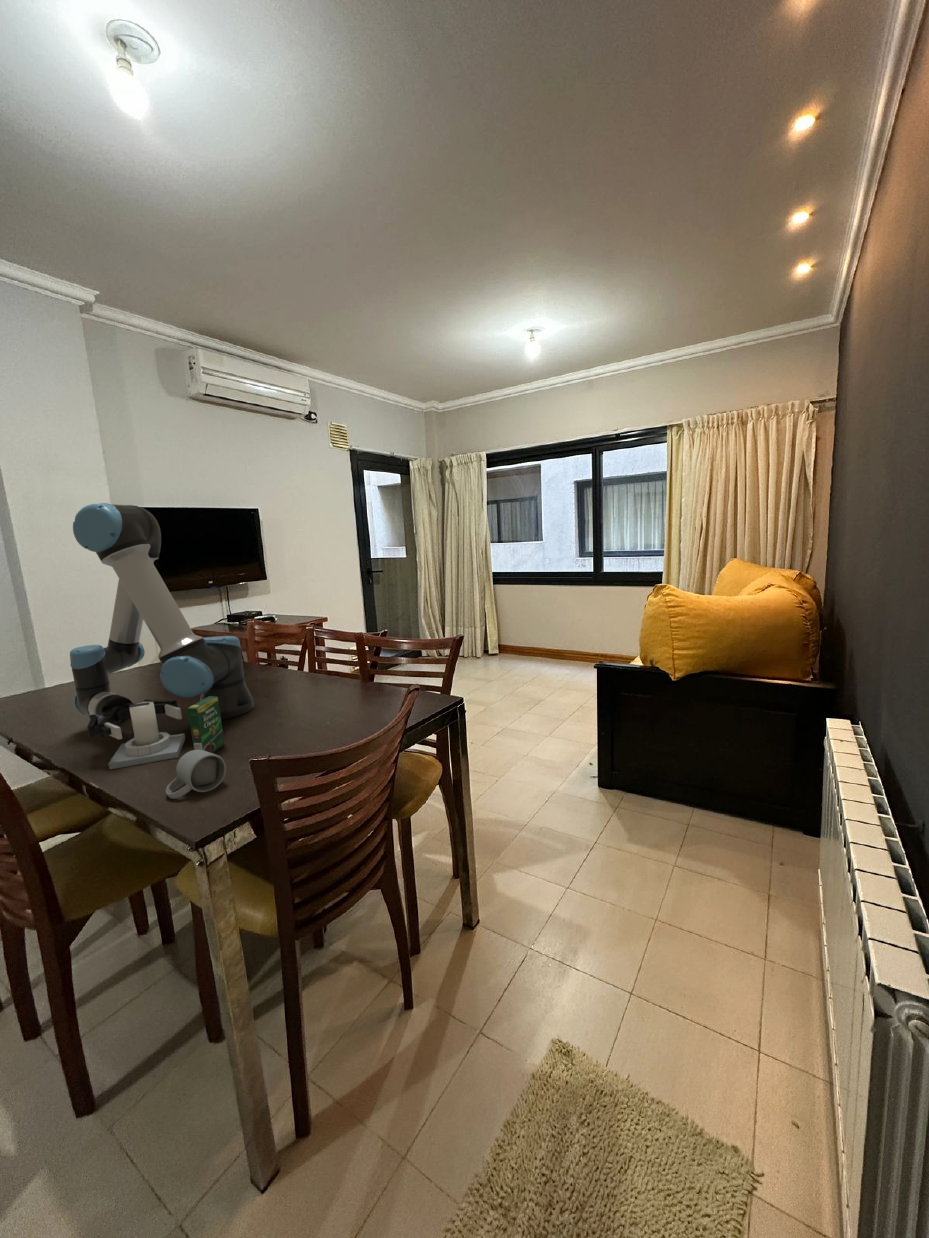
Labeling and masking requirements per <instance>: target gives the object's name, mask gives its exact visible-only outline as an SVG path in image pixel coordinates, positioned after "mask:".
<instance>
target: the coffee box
mask: <svg viewBox="0 0 929 1238" xmlns="http://www.w3.org/2000/svg"><path fill="white" fill-rule="evenodd" d="M187 714H188V720H189V726H190V732H191V738H192V740H191V741H192V745H193V750H204V751H207V752H210V753H213V754H214V753H215V752H216V751H217V750H219V749H220V748H222V747H223V746H224V745H225V739H224V731H223V725H222V719H221V716H220V710H219V703H218V697H215V696H208V697H207V698H205V699H203V700H202V701H200V700H199V702H196V703H195V704H192V705H191V706H189V707H187Z"/></svg>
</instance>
